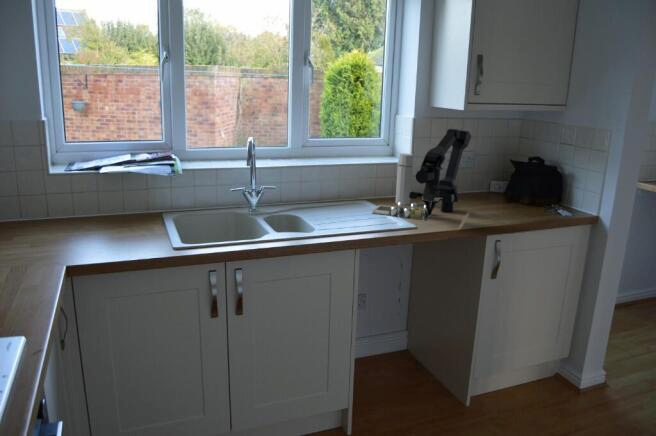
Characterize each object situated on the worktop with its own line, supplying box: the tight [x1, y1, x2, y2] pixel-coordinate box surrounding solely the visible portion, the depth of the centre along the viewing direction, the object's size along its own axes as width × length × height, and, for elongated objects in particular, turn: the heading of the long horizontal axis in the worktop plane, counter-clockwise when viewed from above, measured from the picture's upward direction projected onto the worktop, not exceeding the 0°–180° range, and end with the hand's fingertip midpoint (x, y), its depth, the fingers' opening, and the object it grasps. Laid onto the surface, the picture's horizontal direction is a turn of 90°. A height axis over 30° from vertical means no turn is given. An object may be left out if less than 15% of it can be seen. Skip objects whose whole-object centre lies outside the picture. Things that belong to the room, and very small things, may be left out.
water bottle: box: [395, 153, 414, 206], centre depth 256 cm, size 9×8×25 cm
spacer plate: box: [371, 202, 433, 222], centre depth 237 cm, size 13×25×5 cm, turn 68°
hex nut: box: [410, 207, 424, 217], centre depth 235 cm, size 5×6×3 cm
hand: (429, 215), depth 233 cm, fingers closed
